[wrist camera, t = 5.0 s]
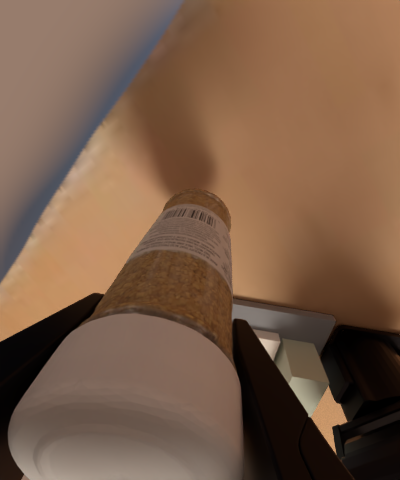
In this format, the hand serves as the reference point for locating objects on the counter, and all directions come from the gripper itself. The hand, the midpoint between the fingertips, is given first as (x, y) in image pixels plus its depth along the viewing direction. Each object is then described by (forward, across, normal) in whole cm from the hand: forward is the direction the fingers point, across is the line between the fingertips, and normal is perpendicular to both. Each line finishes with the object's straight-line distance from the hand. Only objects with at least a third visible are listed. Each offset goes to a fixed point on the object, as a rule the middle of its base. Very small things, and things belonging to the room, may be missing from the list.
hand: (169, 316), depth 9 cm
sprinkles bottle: (+9, 0, 0) cm, 9 cm away
